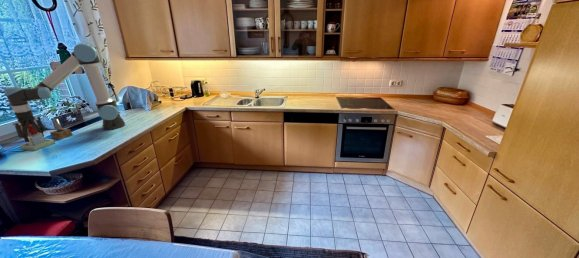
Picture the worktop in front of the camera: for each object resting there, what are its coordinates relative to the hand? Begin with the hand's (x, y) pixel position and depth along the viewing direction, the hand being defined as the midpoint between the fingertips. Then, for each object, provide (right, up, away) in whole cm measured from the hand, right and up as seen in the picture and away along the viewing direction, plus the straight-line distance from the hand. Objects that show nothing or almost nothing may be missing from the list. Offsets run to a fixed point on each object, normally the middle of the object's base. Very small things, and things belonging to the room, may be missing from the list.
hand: (37, 143), depth 162 cm
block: (0, 0, 0) cm, 1 cm away
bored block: (+2, +4, +16) cm, 16 cm away
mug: (-15, +2, +13) cm, 19 cm away
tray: (0, -2, +1) cm, 2 cm away
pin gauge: (+2, +4, +15) cm, 16 cm away
